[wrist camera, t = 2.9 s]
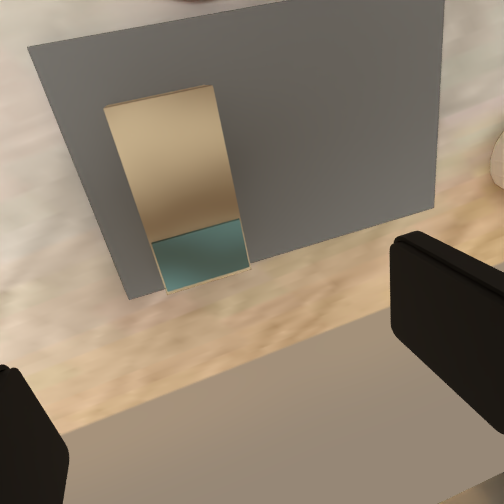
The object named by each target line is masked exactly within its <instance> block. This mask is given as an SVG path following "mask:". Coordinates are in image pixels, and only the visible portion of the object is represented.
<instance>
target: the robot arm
mask: <svg viewBox="0 0 504 504" xmlns="http://www.w3.org/2000/svg"><path fill="white" fill-rule="evenodd" d="M390 307H391V328H392V330H393V333H394V334H395V336H396V337H397V338H398V339H399V340H400V341H401V342H402V343H403V344H404V345H406V346H407V347H408V348H409V349H410V350H411V351H412V352H413V353H414V354H415V355H416V356H417V357H418V358H419V359H421V360H422V361H423V362H424V363H425V364H426V365H427V366H428V367H429V368H430V369H431V370H432V371H433V372H435V374H437V375H438V376H439V377H440V378H441V379H442V380H443V381H444V382H445V383H447V385H448V386H449V387H450V388H452V389H453V390H454V391H455V392H456V393H457V394H458V395H459V396H460V397H461V398H462V399H463V400H464V401H465V402H466V403H468V404H469V405H470V406H471V407H472V408H473V409H474V410H475V411H476V412H477V413H478V414H479V415H481V416H482V417H483V418H484V419H485V420H486V421H487V422H488V423H489V424H490V425H491V426H492V427H493V428H494V429H496V430H497V431H498V432H500V433H502V434H504V272H502V271H499V270H497V269H495V268H493V267H491V266H489V265H487V264H485V263H483V262H481V261H479V260H477V259H475V258H473V257H471V256H469V255H467V254H465V253H463V252H461V251H459V250H457V249H455V248H453V247H451V246H449V245H447V244H445V243H443V242H441V241H439V240H437V239H435V238H433V237H431V236H429V235H427V234H425V233H423V232H421V231H414V232H410V233H407V234H404V235H401V236H398V237H397V238H395V240H394V244H392V245H391V246H390ZM68 466H69V452H68V448H67V446H66V444H65V442H64V441H63V439H62V438H61V436H60V434H59V433H58V431H57V430H56V428H55V426H54V425H53V423H52V422H51V420H50V419H49V417H48V415H47V414H46V412H45V411H44V409H43V407H42V406H41V404H40V403H39V401H38V399H37V398H36V396H35V395H34V393H33V391H32V390H31V388H30V387H29V385H28V384H27V382H26V380H25V379H24V377H23V376H22V374H21V372H20V371H19V370H18V369H17V368H11V369H10V368H9V367H8V366H6V365H0V504H63V498H64V491H65V485H66V479H67V473H68ZM438 504H504V472H503V473H501V474H499V475H497V476H495V477H492V478H490V479H488V480H486V481H484V482H482V483H480V484H478V485H476V486H474V487H472V488H470V489H467V490H465V491H463V492H461V493H459V494H457V495H455V496H453V497H451V498H449V499H447V500H445V501H442V502H440V503H438Z"/></svg>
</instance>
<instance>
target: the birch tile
mask: <svg viewBox="0 0 504 504" xmlns="http://www.w3.org/2000/svg"><path fill="white" fill-rule="evenodd" d="M103 109H104V112H105V115H106V118H107V121H108V124H109V127H110V130H111V133H112V136H113V139H114V142H115V144H116V147H117V150H118V153H119V156H120V159H121V162H122V165H123V168H124V171H125V174H126V177H127V179H128V182H129V185H130V188H131V191H132V194H133V197H134V200H135V203H136V206H137V209H138V211H139V214H140V217H141V220H142V223H143V226H144V229H145V232H146V235H147V238H148V241H149V244H150V246H151V249H152V252H153V255H154V258H155V261H156V264H157V267H158V270H159V273H160V276H161V278H162V281H163V284H164V287H165V290H166V293H167V295H169V294H172V293H176V292H179V291H182V290H186V289H189V288H192V287H195V286H199V285H202V284H205V283H208V282H212V281H215V280H218V279H222V278H225V277H228V276H231V275H235V274H238V273H241V272H244V271H248V270H251V266H250V261H249V256H248V251H247V247H246V242H245V237H244V232H243V227H242V223H241V218H240V213H239V208H238V203H237V199H236V194H235V189H234V184H233V179H232V175H231V170H230V165H229V160H228V155H227V151H226V146H225V141H224V136H223V132H222V127H221V122H220V117H219V112H218V108H217V103H216V98H215V93H214V88H213V85H201V86H196V87H191V88H187V89H182V90H177V91H172V92H168V93H163V94H158V95H153V96H149V97H144V98H139V99H134V100H130V101H125V102H120V103H116V104H111V105H107V106H106V107H105V108H103Z"/></svg>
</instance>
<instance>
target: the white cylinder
mask: <svg viewBox="0 0 504 504" xmlns="http://www.w3.org/2000/svg"><path fill="white" fill-rule="evenodd" d="M490 174H491V176H492V179H493V181H494V183H495V184H496V185H498V186H499V187H501V188H502V189H504V131H503V132H502V134H501V136H500V137H499V139H498V140H497V142H496V143H495V146H494V149H493V152H492V155H491V158H490Z"/></svg>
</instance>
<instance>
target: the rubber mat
mask: <svg viewBox="0 0 504 504" xmlns="http://www.w3.org/2000/svg"><path fill="white" fill-rule="evenodd" d="M444 2H445V0H287V1H282V2H276V3H270V4H265V5H259V6H254V7H248V8H242V9H237V10H231V11H226V12H220V13H214V14H209V15H203V16H198V17H192V18H186V19H181V20H175V21H170V22H164V23H158V24H153V25H147V26H142V27H136V28H130V29H125V30H119V31H114V32H108V33H102V34H97V35H91V36H86V37H80V38H74V39H69V40H63V41H58V42H52V43H46V44H41V45H35V46H30V47H27V49H28V51H29V54H30V56H31V59H32V61H33V63H34V66H35V68H36V71H37V73H38V76H39V78H40V81H41V83H42V86H43V88H44V91H45V93H46V96H47V98H48V101H49V103H50V106H51V108H52V111H53V113H54V115H55V118H56V120H57V123H58V125H59V128H60V130H61V133H62V135H63V138H64V140H65V143H66V145H67V148H68V150H69V153H70V155H71V158H72V160H73V163H74V165H75V168H76V170H77V172H78V175H79V177H80V180H81V182H82V185H83V187H84V190H85V192H86V195H87V197H88V200H89V202H90V205H91V207H92V210H93V212H94V215H95V217H96V220H97V222H98V224H99V227H100V229H101V232H102V234H103V237H104V239H105V242H106V244H107V247H108V249H109V252H110V254H111V257H112V259H113V262H114V264H115V267H116V269H117V272H118V274H119V276H120V279H121V281H122V284H123V286H124V289H125V291H126V294H127V296H128V299H129V300H131V299H134V298H138V297H141V296H144V295H148V294H151V293H154V292H157V291H161V290H164V289H165V287H164V284H163V281H162V278H161V276H160V273H159V270H158V267H157V264H156V261H155V258H154V255H153V252H152V249H151V246H150V244H149V241H148V238H147V235H146V232H145V229H144V226H143V223H142V220H141V217H140V214H139V211H138V209H137V206H136V203H135V200H134V197H133V194H132V191H131V188H130V185H129V182H128V179H127V177H126V174H125V171H124V168H123V165H122V162H121V159H120V156H119V153H118V150H117V147H116V144H115V142H114V139H113V136H112V133H111V130H110V127H109V124H108V121H107V118H106V115H105V112H104V109H103V108H105V107H106V106H107V105H111V104H116V103H120V102H125V101H130V100H134V99H139V98H144V97H149V96H153V95H158V94H163V93H168V92H172V91H177V90H182V89H187V88H191V87H196V86H201V85H213V88H214V93H215V98H216V103H217V108H218V112H219V117H220V122H221V127H222V132H223V136H224V141H225V146H226V151H227V155H228V160H229V165H230V170H231V175H232V179H233V184H234V189H235V194H236V199H237V203H238V208H239V213H240V218H241V223H242V227H243V232H244V237H245V242H246V247H247V251H248V256H249V261H250V263H253V262H257V261H260V260H263V259H266V258H270V257H273V256H276V255H280V254H283V253H286V252H290V251H293V250H296V249H300V248H303V247H306V246H309V245H313V244H316V243H319V242H323V241H326V240H329V239H333V238H336V237H339V236H343V235H346V234H349V233H352V232H356V231H359V230H362V229H366V228H369V227H372V226H376V225H379V224H382V223H385V222H389V221H392V220H395V219H399V218H402V217H405V216H409V215H412V214H415V213H419V212H422V211H425V210H428V209H432V208H434V197H435V178H436V158H437V139H438V119H439V100H440V80H441V61H442V41H443V22H444Z"/></svg>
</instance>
